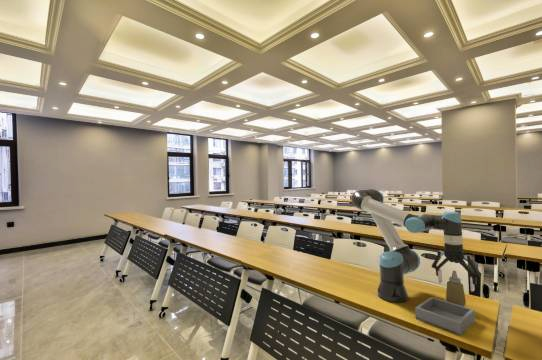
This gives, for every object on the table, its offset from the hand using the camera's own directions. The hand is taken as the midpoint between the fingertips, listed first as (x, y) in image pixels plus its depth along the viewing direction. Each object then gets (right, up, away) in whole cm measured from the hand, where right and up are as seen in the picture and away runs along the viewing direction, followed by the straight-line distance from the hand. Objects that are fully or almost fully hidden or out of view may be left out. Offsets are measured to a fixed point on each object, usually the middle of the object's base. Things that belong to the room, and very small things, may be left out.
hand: (455, 286), depth 126 cm
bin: (-13, -11, -10) cm, 20 cm away
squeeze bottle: (0, -11, 0) cm, 11 cm away
